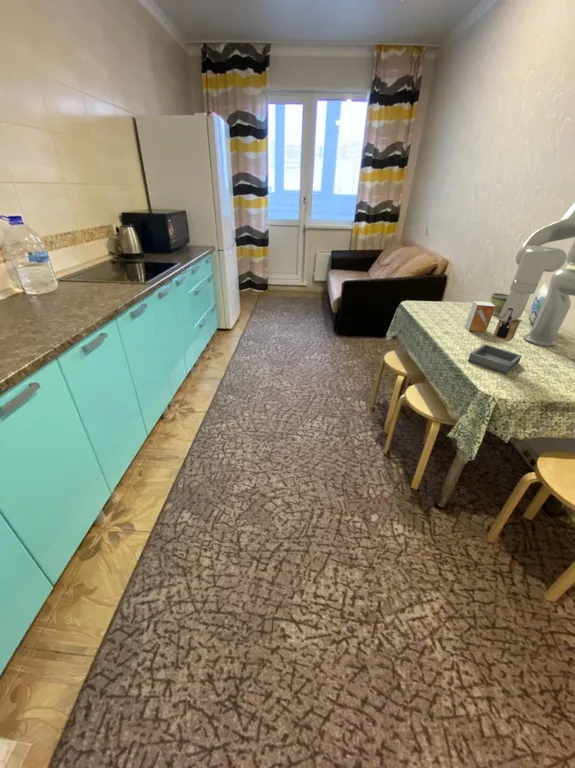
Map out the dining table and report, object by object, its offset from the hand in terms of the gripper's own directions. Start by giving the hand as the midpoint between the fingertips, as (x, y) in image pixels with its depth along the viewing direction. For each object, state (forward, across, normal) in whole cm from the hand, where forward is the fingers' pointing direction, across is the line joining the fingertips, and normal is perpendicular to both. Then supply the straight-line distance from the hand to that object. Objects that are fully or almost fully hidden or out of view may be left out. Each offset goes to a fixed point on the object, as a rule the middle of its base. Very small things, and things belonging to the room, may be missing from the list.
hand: (503, 334), depth 124 cm
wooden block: (+1, 0, 0) cm, 1 cm away
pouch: (+11, -58, -1) cm, 60 cm away
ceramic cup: (+11, -65, -20) cm, 69 cm away
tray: (+12, 0, 0) cm, 12 cm away
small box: (+12, -31, -19) cm, 38 cm away
